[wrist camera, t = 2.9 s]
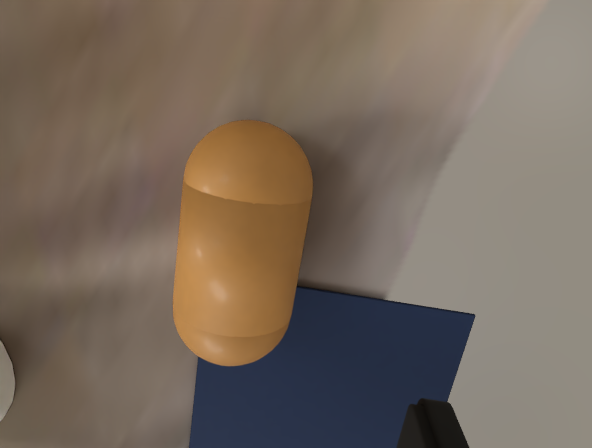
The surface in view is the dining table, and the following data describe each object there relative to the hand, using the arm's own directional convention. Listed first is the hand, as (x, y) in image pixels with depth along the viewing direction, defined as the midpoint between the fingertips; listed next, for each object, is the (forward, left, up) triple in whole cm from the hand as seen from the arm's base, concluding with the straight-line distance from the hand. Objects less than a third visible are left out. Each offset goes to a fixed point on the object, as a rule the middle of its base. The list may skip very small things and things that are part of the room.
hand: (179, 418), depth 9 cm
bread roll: (0, 0, -11) cm, 11 cm away
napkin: (+5, +8, -11) cm, 14 cm away
